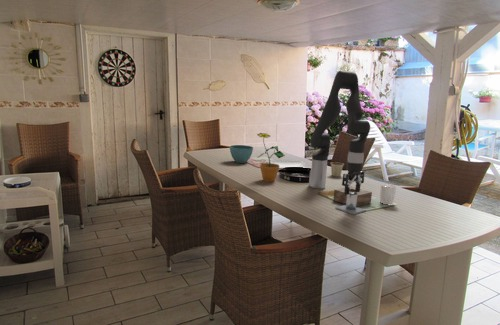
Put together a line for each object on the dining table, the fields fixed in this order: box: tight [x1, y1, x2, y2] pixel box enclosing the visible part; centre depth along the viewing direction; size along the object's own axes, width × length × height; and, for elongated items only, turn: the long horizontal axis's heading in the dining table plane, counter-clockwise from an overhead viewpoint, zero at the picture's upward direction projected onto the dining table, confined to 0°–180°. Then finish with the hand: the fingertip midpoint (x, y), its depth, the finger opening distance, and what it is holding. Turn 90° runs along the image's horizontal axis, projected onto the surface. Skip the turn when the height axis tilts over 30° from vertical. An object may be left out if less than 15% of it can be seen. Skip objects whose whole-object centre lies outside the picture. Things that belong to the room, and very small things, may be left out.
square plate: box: [267, 159, 309, 172], centre depth 285 cm, size 27×27×4 cm
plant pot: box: [229, 144, 254, 164], centre depth 299 cm, size 18×18×12 cm
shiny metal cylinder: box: [345, 192, 358, 210], centre depth 190 cm, size 5×5×8 cm
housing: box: [332, 185, 373, 207], centre depth 205 cm, size 14×14×6 cm
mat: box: [335, 204, 367, 216], centre depth 190 cm, size 11×10×1 cm
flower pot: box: [330, 161, 345, 177], centre depth 266 cm, size 9×9×9 cm
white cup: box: [379, 183, 397, 205], centre depth 204 cm, size 8×8×10 cm
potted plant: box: [256, 132, 286, 183], centre depth 242 cm, size 18×19×30 cm
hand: (352, 193), depth 189 cm, fingers open, 8 cm apart
